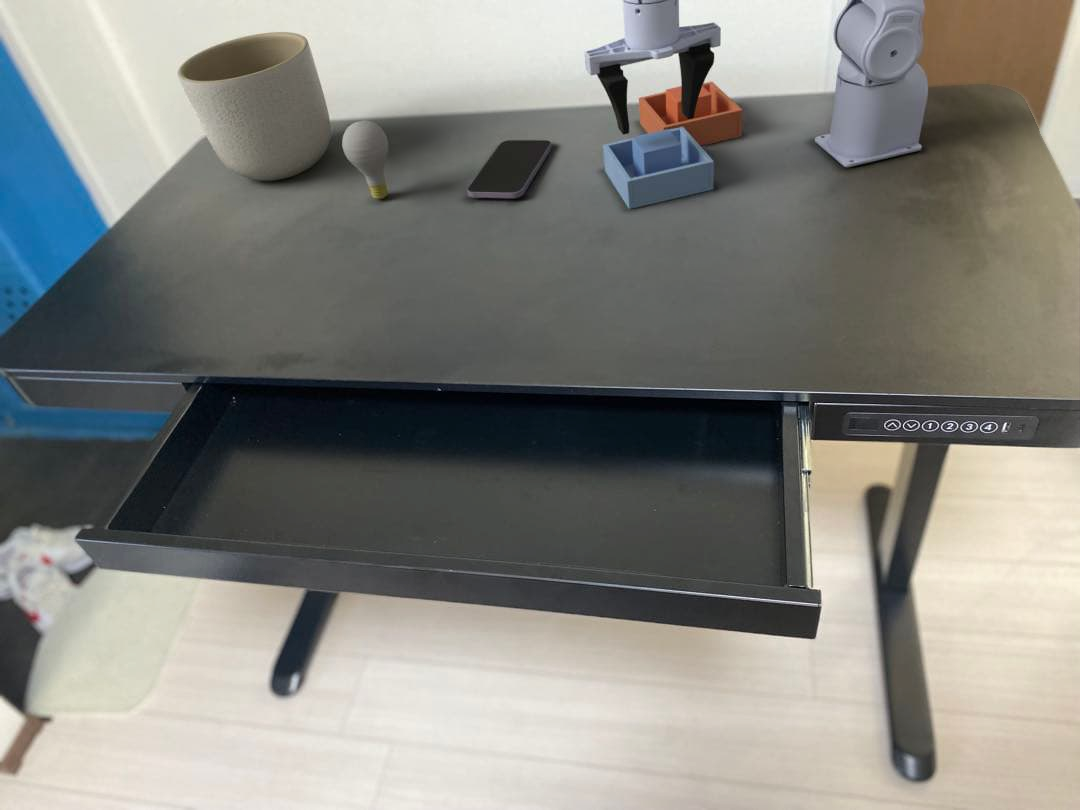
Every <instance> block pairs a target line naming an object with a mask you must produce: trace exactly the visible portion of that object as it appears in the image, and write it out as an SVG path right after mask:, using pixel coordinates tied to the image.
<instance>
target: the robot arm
mask: <svg viewBox="0 0 1080 810" xmlns="http://www.w3.org/2000/svg"><path fill="white" fill-rule="evenodd" d="M622 11H623V13H622V14H623V23H624V24H623V26H624V37H623V38H620V39H617V40H615V41H613V42H609V43H606V44H605V45H602V46H599V47H597V48H593V49H589V50H586V51H584V53H583V54H584V63H585V70H586V72H587V73H588V74H589V75H590V76H595V75H596V76H597V78H598V79H599V81H600V84H601V85H602V87H603V89H604V91H605V93H606V95H607V97H608V99H609V103H610V104H611V107H612V109H613V112H614V115H615V119H616V123H617V128H618V130H619V131H620V132H621V134H622V135H628V134H630V120H629V112H628V87H629V86H628V85H629V80H628V78H627V77H625V75H624V70H623V69H622V68H621V67H624V66H627V65H632V64H637V63H641V62H645V61H650V60H662V59H666V58H669V57H672V56H674V55H675V54H678V61H679V70H680V80H681V81H680V83H681V86H682V88H681V105H682V113H683V114H684V115H685V116H686V117H687V119H692V118H694V114H695V109H696V105H697V101H698V97H699V94H700V91H701V88H702V85H703V83H705V80H706V78H707V76H708V74H709V72H710V71H711V69H712V67H713V65H714V62H715V52H714V51H712V50H711V48H712V49H714V48H717V47H720V46H721V41H722V39H721V37H722V35H721V32H722V31H721V30H722V27H720V26H719V25H718V24H717V23H715V22H714V21H713V22H709V23H702V24H696V25H695V24H694V25H684V26H680V0H622ZM925 11H926V5H925V0H847V2H846V4H845V6H844V7H843V9H842V10H841V11H840V13H839V14H838V16H837V18H836V20H835V23H834V27H833V33H832V34H833V35H832V36H833V40H834V44H835V46H836V47H837V49H838V50H839V51H840V52H841V56H840V61H839V64H838V66H837V71H836V72H837V73H836V79H835V88H834V89H835V90H834V99H833V106H832V115H831V124H830V132H829V133H826V134H822V135H817V136H815V137H814V143H816V144H817V145H818V146H820V147H821V148H822V149H823V150H824V151H825V152H827V153H828V154H829V155H830V156H831V157H832V158H834V159H835V160H836V161H837V162H838V163H839V164H840V165H842V166H843V167H844V168H851V167H855V166H860V165H864V164H868V163H873V162H877V161H881V160H885V159H890V158H894V157H898V156H902V155H907V154H911V153H915V152H919V151H922V148H923V145H922V144H920V143H919V142H920V137H921V131H922V127H923V121H924V118H925V117H924V116H925V111H926V106H927V102H928V97H929V84H928V78H927V74H926V72H925V70H924V68H923V67H922V66H921V65H920V64H918V63H917V62H918V61H919V60H920V57H921V55H922V52H923V47H924V36H923V32H922V23H923V19H924V14H925Z"/></svg>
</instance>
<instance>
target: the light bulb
mask: <svg viewBox="0 0 1080 810" xmlns="http://www.w3.org/2000/svg"><path fill="white" fill-rule="evenodd" d="M341 143H342V144H341V147H342V150H343V153H344V156H345V157H346V158H347V160H348V161H349V162H350V163H351V164H352V165H353V166H354V167H355V168H356V169H357V170H358V171H359V172H360V173H361V174H362V175H364V177H365V180H366V183H367V185H368V187H369V189H370V193H371V197H372V198H373V199H376V200H380V201H381V200H384V198H385V197H386V196H387V195H388V193H389V191H388V188H387V184H386V177H385V174H384V168H385V164H386V161H387V157H388V153H389V141H388V137H387V135H386V132H385V131H384V129H382V127H381V126H379V125H378V124H377V123H374V122H373V121H369V120H358V121H356V122H353V123H352V124H350V125H349V126H348V127H346V129H345V131H344V133H343V135H342V141H341Z"/></svg>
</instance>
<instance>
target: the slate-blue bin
mask: <svg viewBox="0 0 1080 810" xmlns="http://www.w3.org/2000/svg"><path fill="white" fill-rule="evenodd" d="M670 132H671V133H672V134H673V135H674V136H675V137H676V139H677V140H678V141H679V142H680V143H681V161H682V166H681V167H677V168H673V169H668V170H664V171H660V172H655V173H651V174H647V175H642V176H638V177H637V176H636V175H635V173H634V165H633V148H632V137H631V138H626V139H623V140H618V141H614V142H609V143H605V144H602V150H603V162H604V163H603V164H604V172H605V173H606V175H607V177H608V179H609V180H610V182H611V183H612V185H613V186H614V188H615V189H616V191H617V192H618V194H619V196H620V197H621V198H622V200H623V202H624V203H625V205H626V207H627V208H628V210H632V209H635V208H639V207H645V206H648V205H652V204H657V203H662V202H666V201H669V200H674V199H678V198H683V197H688V196H691V195H695V194H699V193H705V192H709V191H712V190H714V189H715V188H714V184H715V183H714V179H715V178H714V177H715V175H714V174H715V173H714V172H715V171H714V170H715V161H714V160H713V159H712V157H711V156H710V155H709V154H708V153H707V152H706V151H705V150H704V148H703V147H702V146H700V145H699V144H698V143H697V142H696V141H695V140H694V139H693V137H692V136H691V135H690V134H689V133H688V132H687V131H686V129H685V128H684V127H679V128H674V129H670Z"/></svg>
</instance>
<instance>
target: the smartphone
mask: <svg viewBox="0 0 1080 810" xmlns="http://www.w3.org/2000/svg"><path fill="white" fill-rule="evenodd" d="M552 148H553V146H552V142H551V141H550V140H547V139H508V140H504V141H501V142H500V143H499V144H498V146H497V147H496V148H495V150H494V151H493V153H492V154H491V155H490V157H489V158H488V159H487V161H486V162H485V164H484V165H483V166H482V167H481V169H480V170H479V171H478V173H477V174H476V176H475V177H474V178H473V180H472V181H471V183H470V184H469V185H468V186H467V189H466V192H467V196H468V197H470V198H475V199H518V198H521V197H522V196H523V195H524V194H525V192H526V191H527V189H528V188H529V186H530V184H531V182H532V181H533V180H534V178H535V176H536V174H537V173H538V171H539V170H540V169H541V166H542V165H543V163H544V162H545V160H546V159H547V157H548V155H549V154H550V152H551V150H552Z"/></svg>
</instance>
